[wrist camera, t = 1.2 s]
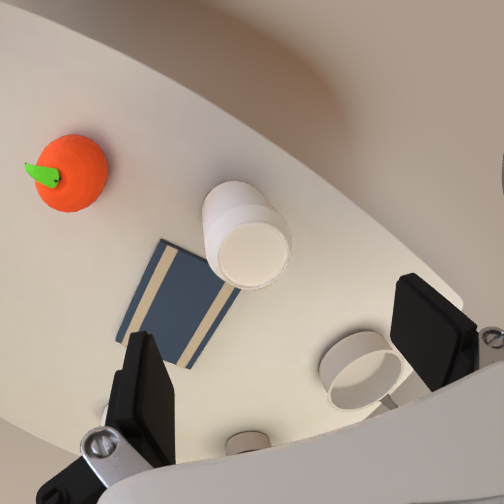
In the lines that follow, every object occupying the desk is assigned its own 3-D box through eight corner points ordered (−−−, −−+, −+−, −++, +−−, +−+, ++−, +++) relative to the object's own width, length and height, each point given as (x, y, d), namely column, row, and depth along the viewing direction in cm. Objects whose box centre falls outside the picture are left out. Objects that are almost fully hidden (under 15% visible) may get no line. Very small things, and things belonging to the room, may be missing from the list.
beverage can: (259, 174, 31) (296, 205, 21) (265, 233, 34) (301, 289, 23) (196, 184, 31) (199, 220, 20) (206, 243, 33) (214, 305, 22)
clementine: (38, 188, 28) (5, 207, 21) (54, 123, 26) (20, 126, 19) (104, 210, 30) (83, 233, 23) (124, 143, 28) (105, 149, 21)
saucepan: (360, 412, 50) (372, 435, 45) (298, 363, 42) (310, 392, 37) (412, 372, 48) (428, 393, 43) (365, 310, 40) (386, 334, 35)
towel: (161, 238, 32) (160, 241, 31) (245, 277, 36) (246, 281, 35) (116, 337, 36) (114, 341, 35) (190, 365, 39) (190, 370, 38)
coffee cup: (266, 418, 46) (289, 499, 32) (282, 446, 50) (304, 515, 36) (208, 436, 45) (218, 516, 32) (230, 461, 50) (243, 531, 36)
